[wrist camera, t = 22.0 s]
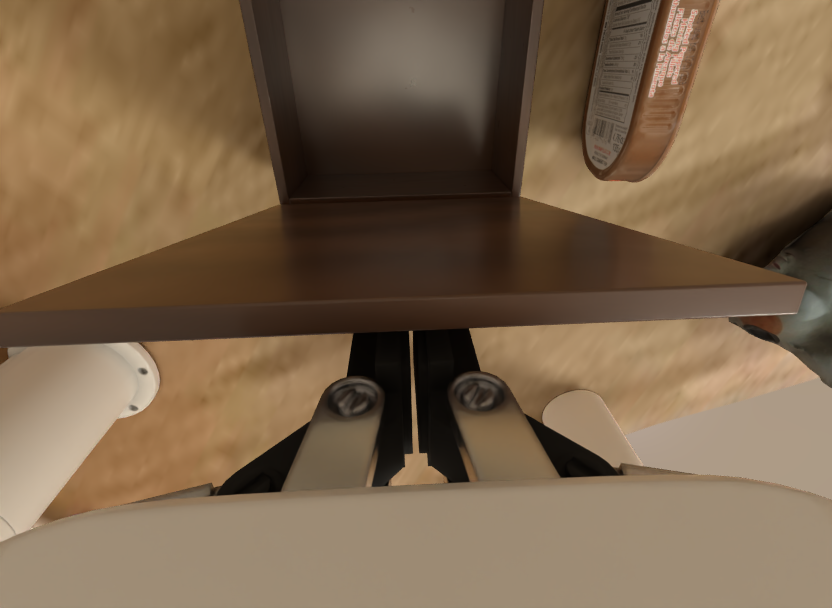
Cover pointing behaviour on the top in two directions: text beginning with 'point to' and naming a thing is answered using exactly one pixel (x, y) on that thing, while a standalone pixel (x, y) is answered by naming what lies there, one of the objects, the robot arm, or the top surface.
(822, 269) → the lucky cat figurine
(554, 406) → the cylindrical container
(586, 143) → the tin
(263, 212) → the lid
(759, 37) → the top surface
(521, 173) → the chest
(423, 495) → the robot arm
